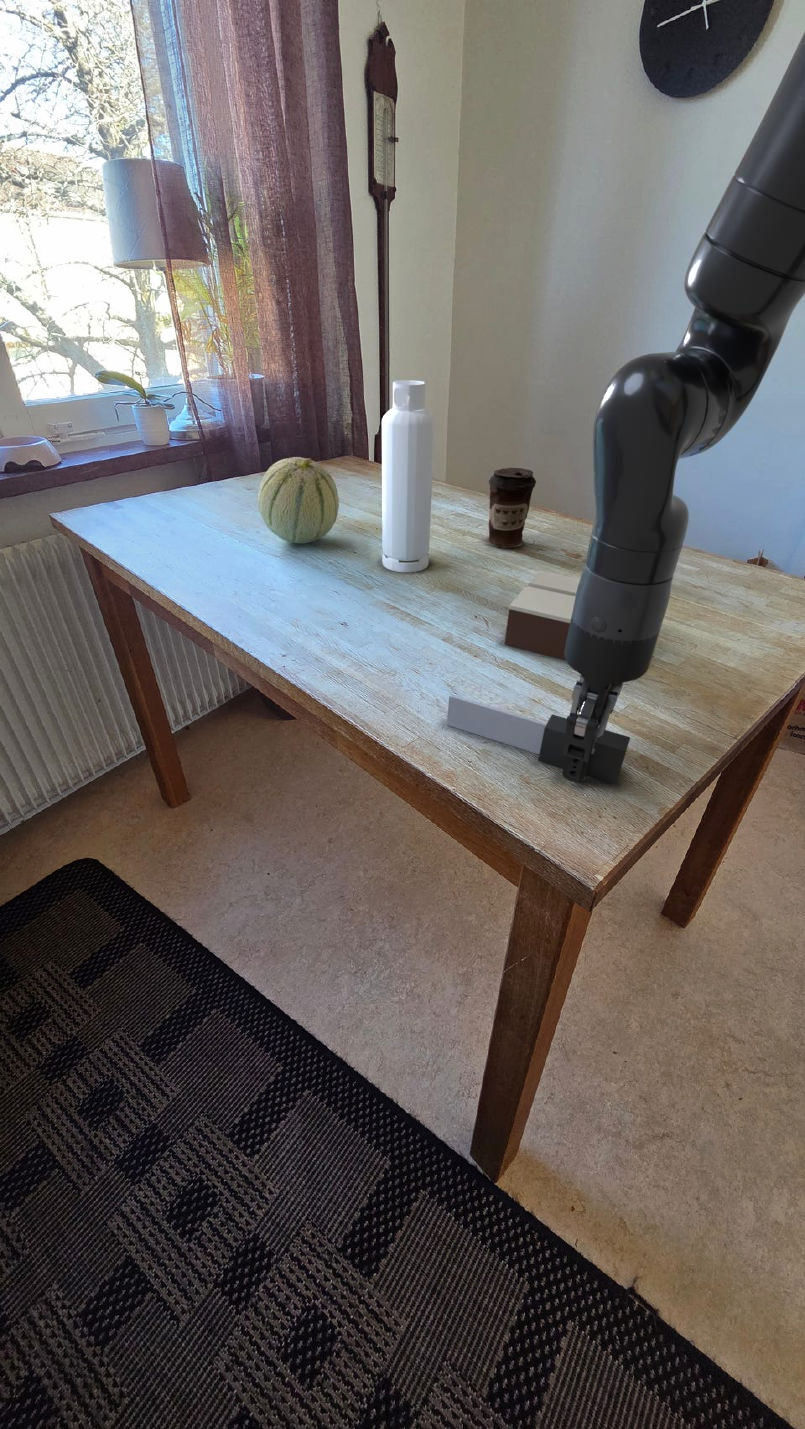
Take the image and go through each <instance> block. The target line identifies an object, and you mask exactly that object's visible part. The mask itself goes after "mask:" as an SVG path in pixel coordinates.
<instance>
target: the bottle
mask: <svg viewBox="0 0 805 1429" xmlns="http://www.w3.org/2000/svg"><path fill="white" fill-rule="evenodd" d="M425 394H426V382H425V381H423V380H414V379H412V380H411V379H401V380H394V381H392V408H390V409H389V410H388V411H386V413H385V414H384V415H383V417H382V418H381V518H382V519H381V532H382V534H381V536H382V537H381V540H382V542H381V544H382V548H381V549H382V555H381V557H382V559H381V560H382V566H383V567H384V568H386V569H388V570H390V571H393V572H397V573H415V572H420V571H423V570H425V569H427V568H428V567H429V562H430V554H429V552H430V542H431V541H430V540H431V539H430V538H431V517H432V516H431V515H432V495H433V494H432V492H433V474H434V473H433V471H434V470H433V469H434V448H435V426H436V425H435V424H436V421H435V419H434V416H433V415H432V414H431V412H430V411H429V410H427V409H425V398H426V395H425Z"/></svg>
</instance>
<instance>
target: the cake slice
mask: <svg viewBox="0 0 805 1429" xmlns="http://www.w3.org/2000/svg"><path fill="white" fill-rule="evenodd" d="M579 581H580V578H579V577H574V576H570V575H569V576H568V575H563V574H559V573H554V572H550V571H544V570H538V571H537V573H536V574H535V575H534V576H533V577H532V578H531V580H530V581H528V586H530V587H534V588H539V589H543V590H548V591H553V592H557V593H562V594H566V595H571V596H576V592H577V588H578V584H579Z"/></svg>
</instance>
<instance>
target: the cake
mask: <svg viewBox="0 0 805 1429" xmlns="http://www.w3.org/2000/svg"><path fill="white" fill-rule="evenodd" d="M575 597H576V596H571V595H566V594H562V593H557V592H553V591H548V590H543V589H539V588H534V587H530V586H529V585H525V586H524V588H522V590H521V591H520V593H519V594H517V596H516V597H515V598H514V599H513V600H512V601H511V603H510V604H509V607H508V616H507V621H506V630H505V637H504V645H506V646H510V647H513V648H516V649H521V650H524V651H529V652H532V653H535V654H538V655H542V656H543V655H545V656H548V657H552V658H556V659H559V660H563V661H566V659H565V655H564V651H565V646H566V641H567V636H568V631H569V626H570V621H571V616H572V611H573V607H574V602H575Z"/></svg>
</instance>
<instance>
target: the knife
mask: <svg viewBox="0 0 805 1429" xmlns="http://www.w3.org/2000/svg"><path fill="white" fill-rule="evenodd" d="M447 705H448V706H447V719H446V725H447V726H449V727H452V728H455V729H459V730H462V731H464V732H468V733H471V734H474V735H477V736H480V737H483V738H486V739H490V740H493V741H496V742H499V743H502V744H505V745H509V746H511V747H514V748H517V749H521V750H524V751H527V752H530V753H533V754H537V755H538V759H537V761H538V762H541V763H544V764H546V765H549V766H553V767H555V768H560V769H562V770H563V769H564V764H565V760H566V755H563V750H562V748H563V746H564V740H565V733H566V726H567V721H566V720H567V717H563V716H560V715H556V714H551V715H550V716H549V719H548V721H547V722H546V721H542V720H539V719H536V718H533V717H528V716H525V715H522V714H518V713H515V712H513V711H509V710H505V709H502V708H498V707H495V706H492V705H489V704H486V703H482V702H479V701H475V700H473V699H469V698H465V697H463V696H459V695H455V694H452V693H450V695H449V696H448V704H447ZM630 741H631V736H629V735H628V736H627V735H624V734H621V733H618V732H614V731H610V730H608V729H605V731H604V733H603V735H602V736H600V737H597V740H596V743H595V747H594V749H595V752H594V754H593V753H592V757H591V759H590V762H589V766H588V769H587V773H586V778H590V779H593V780H597V781H600V782H603V783H605V784H609V785H612V786H616V784H617V781H618V778H619V776H620V772H621V769H622V766H623V763H624V760H625V756H626V753H627V750H628V747H629V743H630Z"/></svg>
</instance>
